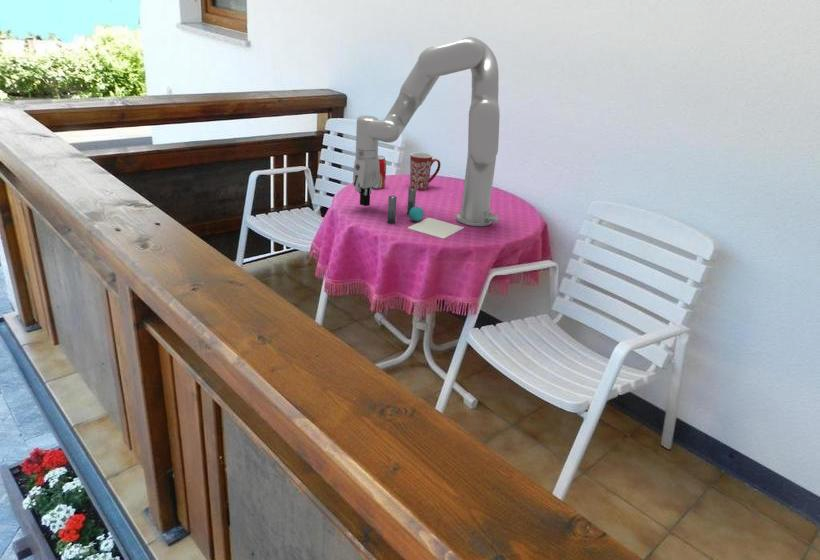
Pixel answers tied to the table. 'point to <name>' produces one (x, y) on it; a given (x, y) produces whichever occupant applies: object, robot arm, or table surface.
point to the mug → (421, 170)
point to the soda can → (381, 173)
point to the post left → (391, 209)
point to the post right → (411, 199)
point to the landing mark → (435, 228)
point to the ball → (416, 213)
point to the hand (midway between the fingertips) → (364, 204)
